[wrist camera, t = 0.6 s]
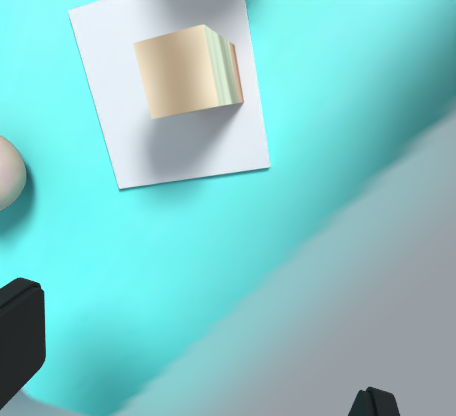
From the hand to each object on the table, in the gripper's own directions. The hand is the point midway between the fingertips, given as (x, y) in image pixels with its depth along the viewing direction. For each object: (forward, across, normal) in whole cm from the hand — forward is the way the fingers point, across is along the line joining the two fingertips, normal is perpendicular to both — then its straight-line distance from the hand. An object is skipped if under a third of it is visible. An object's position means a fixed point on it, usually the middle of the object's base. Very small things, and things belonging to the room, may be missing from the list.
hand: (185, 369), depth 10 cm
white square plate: (+26, +12, -6) cm, 29 cm away
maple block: (+26, +7, -7) cm, 28 cm away
